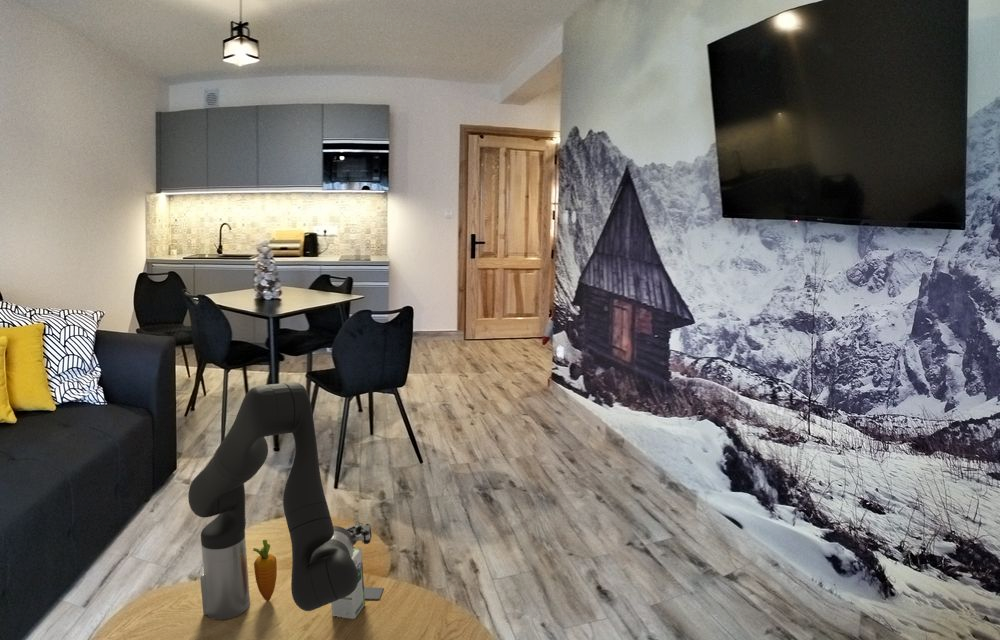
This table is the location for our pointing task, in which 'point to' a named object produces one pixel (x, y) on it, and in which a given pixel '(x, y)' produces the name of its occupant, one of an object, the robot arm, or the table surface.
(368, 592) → the grey flat block
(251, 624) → the table surface
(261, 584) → the carrot
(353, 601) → the syrup box
